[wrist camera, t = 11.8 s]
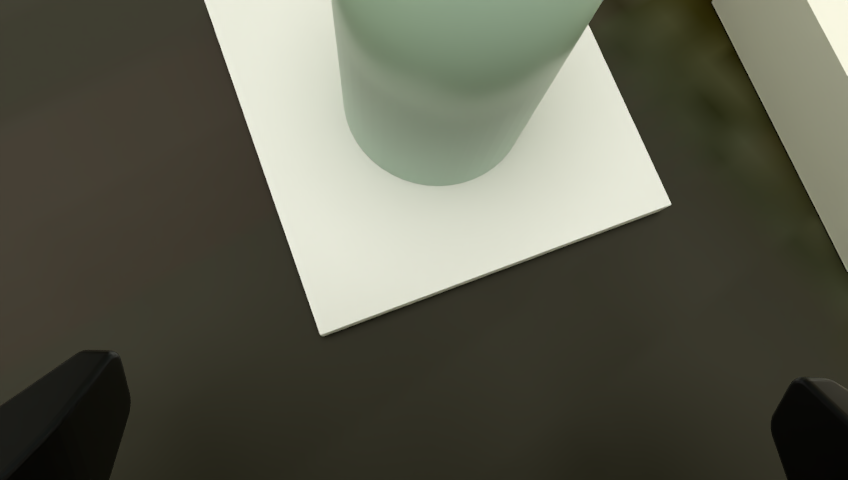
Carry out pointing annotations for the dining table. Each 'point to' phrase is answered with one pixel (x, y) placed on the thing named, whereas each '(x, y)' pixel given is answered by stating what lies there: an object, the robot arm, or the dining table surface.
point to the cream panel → (415, 203)
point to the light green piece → (449, 78)
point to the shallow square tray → (802, 90)
